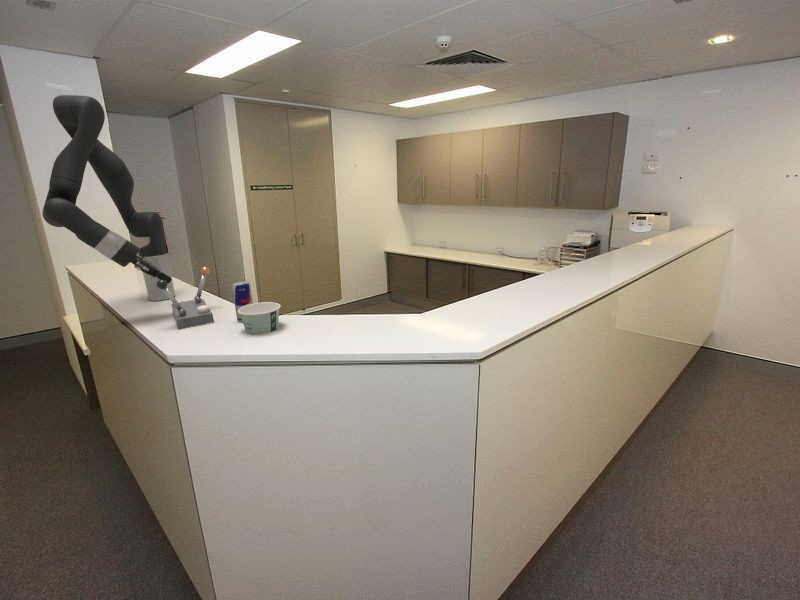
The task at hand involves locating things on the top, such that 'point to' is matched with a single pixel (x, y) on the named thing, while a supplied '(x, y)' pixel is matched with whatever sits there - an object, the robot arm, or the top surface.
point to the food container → (260, 317)
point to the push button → (203, 308)
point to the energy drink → (241, 296)
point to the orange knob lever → (201, 284)
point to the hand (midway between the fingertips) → (170, 281)
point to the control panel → (192, 314)
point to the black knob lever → (171, 296)
